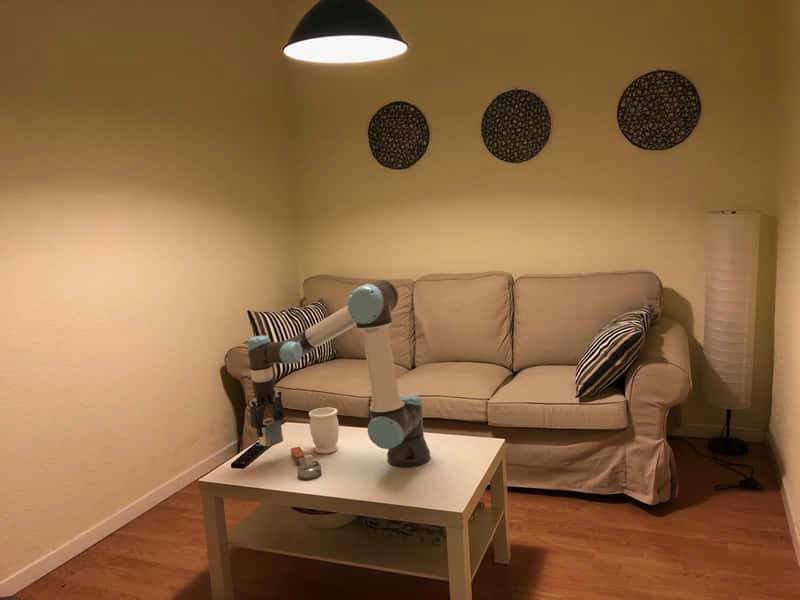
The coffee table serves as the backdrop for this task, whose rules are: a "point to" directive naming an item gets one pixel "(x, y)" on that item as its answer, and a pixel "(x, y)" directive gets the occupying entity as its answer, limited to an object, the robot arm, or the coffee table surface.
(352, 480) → the coffee table surface
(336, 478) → the coffee table surface
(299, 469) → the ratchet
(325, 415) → the jar
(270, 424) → the grey block
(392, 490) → the coffee table surface
